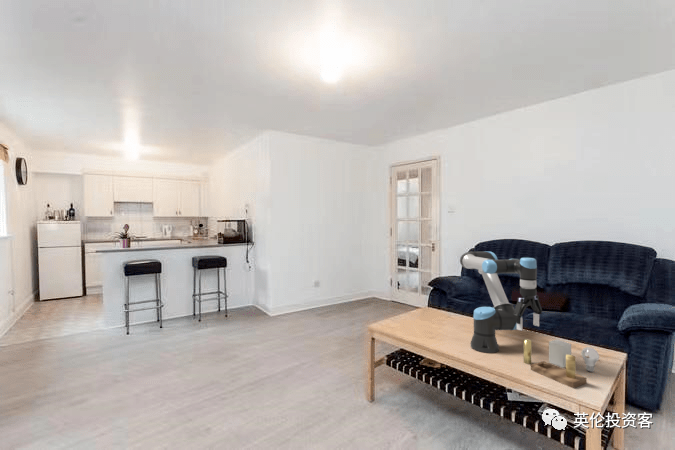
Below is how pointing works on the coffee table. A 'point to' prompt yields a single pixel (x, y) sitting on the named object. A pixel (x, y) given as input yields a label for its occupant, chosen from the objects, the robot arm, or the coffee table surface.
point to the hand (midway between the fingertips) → (528, 327)
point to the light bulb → (590, 358)
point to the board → (561, 372)
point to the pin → (527, 351)
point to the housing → (559, 352)
